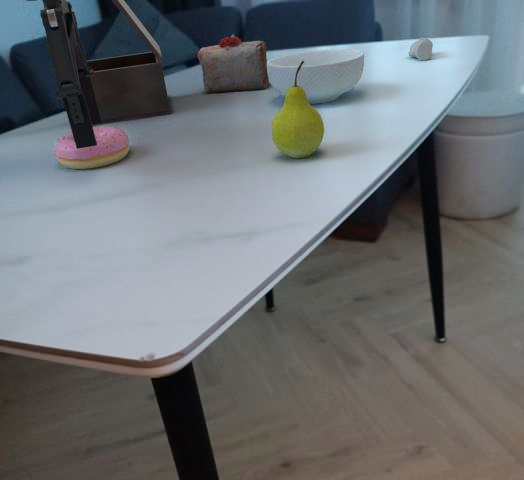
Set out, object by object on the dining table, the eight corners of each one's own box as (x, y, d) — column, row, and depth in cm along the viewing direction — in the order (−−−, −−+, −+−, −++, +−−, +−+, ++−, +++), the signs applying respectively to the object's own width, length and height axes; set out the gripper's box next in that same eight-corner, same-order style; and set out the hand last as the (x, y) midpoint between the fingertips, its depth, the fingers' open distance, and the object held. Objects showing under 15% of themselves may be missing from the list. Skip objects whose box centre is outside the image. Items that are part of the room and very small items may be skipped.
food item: (199, 96, 119) (191, 42, 114) (208, 87, 126) (201, 35, 120) (266, 91, 117) (261, 35, 111) (272, 82, 123) (267, 29, 117)
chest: (79, 129, 107) (65, 76, 102) (85, 110, 120) (72, 62, 115) (171, 115, 108) (161, 62, 103) (167, 98, 121) (158, 50, 116)
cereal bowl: (382, 91, 106) (383, 48, 102) (326, 115, 97) (324, 68, 93) (308, 86, 117) (306, 46, 113) (251, 107, 107) (246, 64, 103)
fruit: (264, 158, 81) (254, 63, 75) (302, 146, 84) (297, 53, 78) (295, 168, 77) (288, 67, 70) (335, 154, 80) (332, 56, 73)
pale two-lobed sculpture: (411, 62, 132) (435, 52, 130) (410, 68, 126) (434, 58, 123) (406, 41, 130) (430, 32, 128) (404, 47, 124) (429, 37, 122)
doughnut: (43, 172, 87) (34, 143, 84) (86, 149, 95) (79, 122, 93) (106, 174, 83) (99, 143, 81) (145, 149, 91) (139, 121, 89)
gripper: (64, -43, 65) (113, 153, 77) (81, -43, 85) (117, 112, 97) (-6, -34, 64) (54, 162, 76) (28, -36, 85) (71, 119, 97)
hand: (90, 134), depth 87 cm, fingers open, 13 cm apart
